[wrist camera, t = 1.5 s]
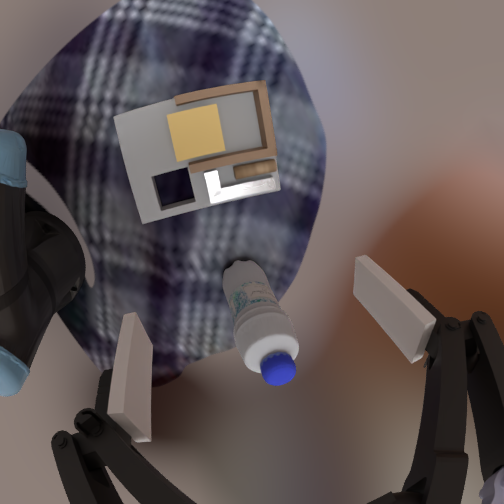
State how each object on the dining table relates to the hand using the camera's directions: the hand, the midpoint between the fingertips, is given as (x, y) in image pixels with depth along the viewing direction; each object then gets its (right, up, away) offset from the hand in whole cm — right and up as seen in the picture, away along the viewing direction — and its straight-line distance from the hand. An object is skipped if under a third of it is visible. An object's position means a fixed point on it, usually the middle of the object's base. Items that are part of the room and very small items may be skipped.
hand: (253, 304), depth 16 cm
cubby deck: (-7, +16, +17) cm, 24 cm away
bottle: (-2, 0, +27) cm, 27 cm away
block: (-7, +17, +14) cm, 23 cm away
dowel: (0, +13, +18) cm, 22 cm away
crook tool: (-2, +12, +18) cm, 22 cm away
